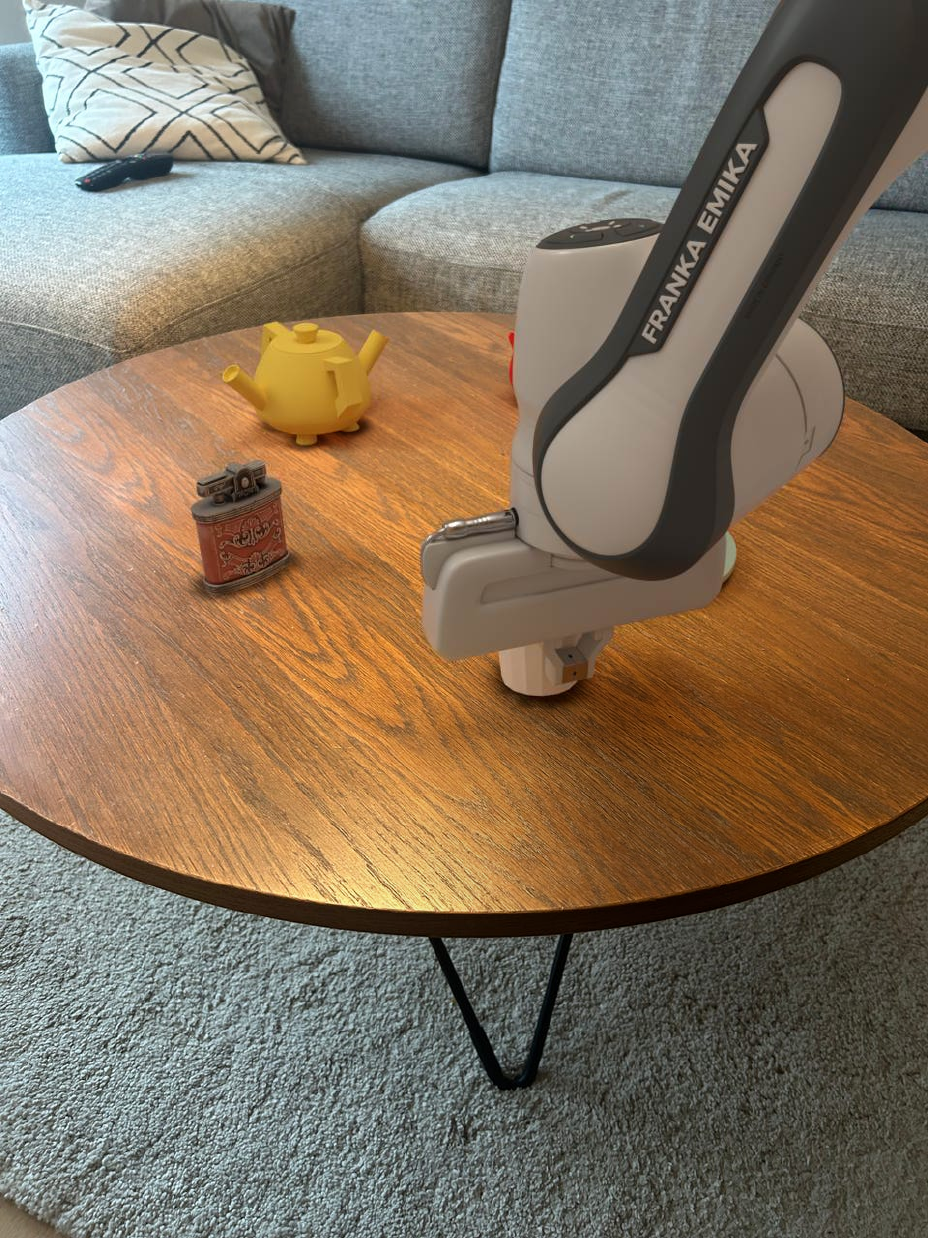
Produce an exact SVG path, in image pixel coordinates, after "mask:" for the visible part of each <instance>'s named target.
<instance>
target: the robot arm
mask: <svg viewBox="0 0 928 1238" xmlns="http://www.w3.org/2000/svg"><path fill="white" fill-rule="evenodd" d="M927 151H928V0H779V1H778V3H777V5H776V7H775V9H774V10H773V13H772V14H771V16H770V18H769V20H768V22H767V23H766V26H765V27H764V29H763V31H762V33H761V35H760V37H759V39H758V40H757V42H756V45H755V46H754V48H753V50H752V51H751V53H750V55H749V56H748V58H747V60H746V61H745V63H744V65H743V67H742V69H741V71H740V73H739V74H738V76H737V78H736V80H735V81H734V84H733V85H732V87H731V89H730V91H729V93H728V94H727V97H726V99H725V100H724V102H723V103H722V106H721V108H720V109H719V112H718V113H717V116H716V117H715V120H714V122H713V124H712V126H711V127H710V129H709V132H708V134H707V136H706V138H705V140H704V142H703V144H702V146H701V148H700V150H699V152H698V154H697V156H696V158H695V160H694V162H693V164H692V166H691V169H690V170H689V173H688V174H687V176H686V179H685V181H684V183H683V185H682V187H681V189H680V191H679V193H678V195H677V197H676V199H675V201H674V203H673V205H672V207H671V210H670V211H669V213H668V216H667V217H666V219H665V221H664V223H663V222H658V221H655V220H653V219H651V218H643V217H623V218H621V217H620V218H610V219H601V220H599V221H594V222H589V223H586V222H585V223H581V224H576V225H574V226H570V227H567V228H564V229H562V230H559V231H556V232H554V233H551V234H549V235H548V236H545V237H543V239H541V240H540V242H539V243H538V244H536V245H535V246H534V247H533V248H532V249H531V250H530V253H529V255H528V257H527V260H526V262H525V266H524V269H523V272H522V276H521V280H520V285H519V290H518V297H517V304H516V312H515V321H514V332H513V333H514V349H512V354H513V388H512V389H514V390H513V392H514V396H515V401H516V404H517V410H518V413H517V414H518V419H517V425H516V428H515V431H514V433H513V437H512V441H511V444H510V445H511V446H510V469H509V471H510V472H509V502H508V503H509V506H508V508H509V509H504V510H499V511H493V512H492V511H491V512H488V513H484V514H481V515H476V516H472V517H469V518H467V517H466V518H465V517H459V518H453V519H449V520H446V521H444V522H442V524H441V528H438V529H437V530H434V531H433V532H432V533H430V534H429V535H428V536H427V538H426V539H424V540H423V541H422V543H421V546H420V551H419V552H420V553H419V564H420V565H419V566H420V567H419V568H420V575H421V576H420V577H421V579H422V581H423V582H424V583H423V592H422V600H421V628H422V632H423V633H424V636H425V638H426V640H427V642H428V644H429V645H430V647H431V649H432V650H433V651H434V652H435V654H437V655H438V656H439V657H441V659H443V660H445V661H447V662H457V661H461V660H467V659H471V658H476V657H480V656H484V655H489V654H493V653H494V654H495V653H498V652H499V651H504V650H508V649H513V648H518V647H522V646H527V645H532V644H536V643H537V644H538V645H539V647H540V648H541V650H542V651H543V652H544V654H545V655H546V660H545V672H546V675H547V677H548V679H549V680H550V682H551V683H552V685H553V686H556V685H561V684H565V683H569V682H573V681H577V682H578V681H582V680H587V679H592V678H594V676H595V669H596V668H595V665H596V660H597V659H598V658H599V656H600V655H601V654H602V653H603V651H604V649H605V648H606V647H607V646H608V645H609V643H610V642H611V640H612V639H613V638H614V629H615V628H616V627H619V626H624V625H628V624H635V623H638V622H644V621H648V620H652V619H657V618H661V617H667V616H671V615H676V614H681V613H685V612H691V611H694V610H699V609H704V608H707V607H708V606H710V604H712V603H713V601H715V599H716V598H717V597H718V595H720V593H721V591H722V586H723V583H724V582H723V576H724V569H725V560H726V534H725V533H726V532H727V531H728V532H729V530H731V529H732V528H733V527H735V526H736V525H738V524H739V523H740V522H741V521H743V520H744V519H745V518H747V516H749V515H750V514H751V513H753V512H754V511H755V510H756V509H758V508H759V507H760V506H762V505H763V504H764V503H766V502H767V501H768V500H769V499H771V498H772V497H774V496H775V495H776V494H777V493H778V492H779V491H780V490H781V489H782V488H784V487H785V486H786V485H788V484H789V483H790V482H791V481H793V480H795V478H797V477H798V476H799V475H800V474H801V473H803V472H804V471H805V470H807V469H808V468H809V467H810V465H812V464H813V463H815V461H816V460H819V458H820V457H822V455H823V454H824V453H825V452H826V451H827V450H828V449H829V448H830V446H831V445H832V443H833V442H834V441H835V439H836V437H837V435H838V433H839V430H840V428H841V425H842V422H843V419H844V413H845V406H846V389H845V388H846V387H845V382H844V377H843V373H842V368H841V366H840V363H839V361H838V358H837V356H836V354H835V352H834V351H833V349H832V347H831V346H830V344H829V343H828V341H827V339H826V338H825V337H824V336H823V334H821V333H820V331H819V330H817V328H815V326H813V325H812V324H811V323H809V322H808V321H807V320H805V319H804V318H802V317H801V316H800V315H801V313H802V311H803V309H804V308H805V306H806V305H807V303H808V302H809V299H810V298H811V296H812V295H813V293H814V291H815V290H816V288H817V287H818V285H819V283H820V281H821V280H822V278H823V277H824V275H825V274H826V272H827V270H828V268H829V266H830V265H831V264H832V262H833V260H834V258H835V256H836V255H837V253H838V252H839V250H840V248H841V247H842V245H843V243H844V242H845V241H846V240H847V238H848V236H849V235H850V234H851V232H852V231H853V229H854V228H855V227H856V225H857V224H858V223H859V221H860V220H861V219H862V218H863V216H864V215H865V214H866V213H867V212H868V211H869V209H870V208H871V207H872V206H873V204H874V203H875V202H876V201H877V200H878V199H879V198H880V197H881V196H882V194H884V192H885V191H886V190H888V188H889V187H890V186H891V185H892V184H894V182H895V181H896V180H897V179H898V178H899V177H901V175H902V174H904V172H905V171H907V169H908V168H910V167H911V166H912V165H913V164H914V163H916V161H918V159H920V157H922V156H923V155H924V154H925V153H927ZM722 582H723V583H722ZM578 634H582V636H581V638H580V639H579V641H578V643H577V645H576V647H572V648H568V649H563V650H558V651H555V650H554V648H556V649H558V648H561V647H562V646H563V638H564V637H569V636H574V635H578Z"/></svg>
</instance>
